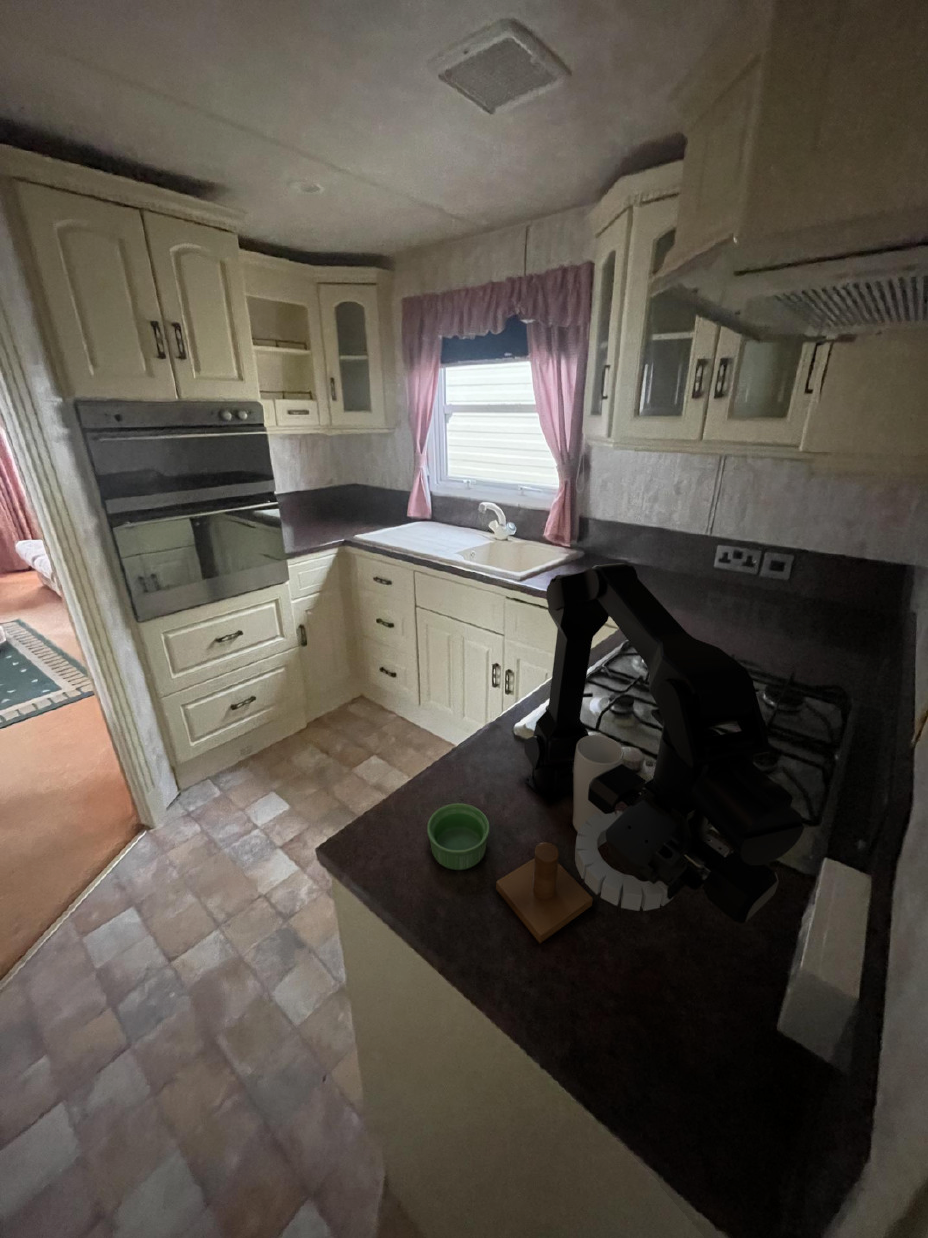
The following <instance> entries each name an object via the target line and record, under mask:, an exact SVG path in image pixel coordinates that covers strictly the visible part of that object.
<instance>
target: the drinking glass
mask: <svg viewBox="0 0 928 1238" xmlns="http://www.w3.org/2000/svg"><path fill="white" fill-rule="evenodd" d="M624 756H625V752H624V749H623V747H622V746H621V744H620V743H619V742H618V741H616V740H614V739H613V738H610V737H608V736H605V735H599V734H589V736H586V737H583V738H581V739H580V740H579V741H578V742H577V745H576V750H575V757H574V762H573V770H572V773H573V792H572V794H573V807H572V808H573V811H572V812H573V814H572V825H573V828H574V830H575V831H576V832H577V833H578V831H579V829H580V828H581V826H582V824H583V823H586V820H587V819H589V818H590V817H592V816H594V815H595V814H597V815H599V813H601V812H602V811H601V810H599V809H598V808H597V807H596V806H595V805H593V804H592V803H591V802H590V801H589V800H588V790H589V784H590V782H591V781H592V780H593V778H595V777H597V776H598V775H600V774H602V773H604V772H605V771H607V770H609V769H611V768H612V767H614V766H616V765H619V764H623V765H624Z"/></svg>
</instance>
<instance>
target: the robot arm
mask: <svg viewBox="0 0 928 1238" xmlns="http://www.w3.org/2000/svg"><path fill="white" fill-rule="evenodd" d="M545 592H546V594H545V595H546V603H547V613H548V614H549V615H550V617H551V619H552V621H553V623H554V624H555V627H556V628H557V630H556V640H555V647H554V657H553V665H552V673H551V681H550V691H549V698H548V699H549V700H548V705H547V709H546V710H545V711H544V712H543V714H542V715H541V716H540V717H539V718H538V719H537V720H536V722H535V726H534V730H533V735H532V736H530V737H528V738H526V739H524V740H523V748H524V754H525V756H526V757H527V759H528V762H529V763H530V765H531V767H532V769H531V770H532V771H531V772H532V773H531V775H530V776H528V777H526V778H525V779H524V784H526V785H527V787H529V788H530V789H531V790H532V791H533V792H534V793H536V794H537V795H538V796H539V797H540V798H541V799H542V800H543V801H545V803H547V804H548V805H552V804H554V803H556V802H557V801H559V800H561V799H563V798H565V797H566V796H568V795H570V794H573V769H574V757H575V750H576V745H577V742H578V741H579V740H580V739H581V738H583V737H586V736H590V733H589V732H588V730H587V728H586V726H585V725H584V723H583V721H582V720H581V713H582V708H583V702H584V696H585V690H586V683H587V676H588V670H589V664H590V657H591V652H592V645H593V641H594V637H595V636H596V635H597V633H598V632H599V631H600V630H601V629H602V628H603V627H604V626H605V625H606V623H608V621H609V618H611V620H612V621H613V622H614V624H615V625H616V626H617V628H618V629H619V630H620V632H621V633H622V635H623V636H624V637H625V639H626V640H627V641H628V642H629V644H630V645H631V646H632V647H633V649H634V651H635V652H636V653H637V654H638V656H639V657H640V658H641V660H642V661H643V662H644V664H645V666H646V668H647V669H648V671H649V678H648V691H649V693H650V695H651V697H652V699H653V700H654V702H655V704H656V706H657V708H652V709H651V710H650V715H651V716H652V717H653V719H654V720H656V721H657V723H658V724H659V725H661V727H662V730H661V736H660V741H659V746H658V751H657V757H656V761H655V766H654V769H653V770H654V771H653V776H652V778H651V779H649V780H646V779H645V778H644V777H641V776H640V775H639V774H637V773H636V772H635V771H633V770H632V769H630V768H629V767H628V766H626V765H625V764H624V763H623V764H619V765H616V766H614V767H612V768H611V769H609V770H607V771H605V772H604V773H602V774H600V775H598V776H597V777H595V778H593V780H592V781H591V782H590V784H589V790H588V800H589V801H590V802H591V803H592V804H593V805H595V806H596V807H597V808H598V809H599V810H601V811H602V812H603V813H604V814H610V813H613V812H616V808H617V805H618V804H619V803H621V802H622V803H624V804H625V805H626V807H624V808H622V810H621V811H622V813H623V814H622V815H621V816H620V817H619V818H618V819H617V820H616V821H615V822H613V823H612V824H611V825H610V826H609V827H608V829H607V830H606V839H607V842H606V843H607V848H608V851H609V854H610V856H611V857H612V858H613V860H615V861H617V862H618V863H619V864H620V865H621V866H623V867H624V868H625V869H626V870H627V871H628V872H629V873H630V874H631V876H634V877H635V878H636V879H638V880H640V881H643V882H646V881H651V883H653V884H655V883H656V882H657V881H661V882H663V883H664V884H665V885H666V886H668V889H667V898H668V899H669V900H670V899H672V898H673V897H674V898H675V896H677V895H678V893H679V892H680V891H682V890H683V888H684V887H686V886H687V887H688V888H689V889H691V890H693V891H698V890H700V889H702V890H703V892H704V894H705V895H706V898H707V900H708V901H709V902H710V903H712V904H713V905H714V906H715V907H716V908H718V909H719V910H720V911H721V912H722V913H724V914H725V915H726V916H727V917H729V918H730V919H731V920H732V921H733V922H734V923H741V924H746V923H747V922H748V921H749V920H750V919H751V918H752V917H753V916H754V915H755V914H756V913H757V912H758V911H759V910H760V909H761V908H762V907H763V906H764V905H765V904H766V903H767V902H768V901H769V900H770V899H771V898H772V897H773V896H774V895H775V893H776V891H777V888H778V886H779V883H780V881H779V877H778V874H777V872H776V871H774V870H773V869H772V868H770V867H769V866H768V865H767V864H769V863H772V862H774V861H777V860H778V859H780V858H782V857H783V856H784V855H786V854H787V853H788V852H790V850H791V849H792V848H793V847H794V846H795V845H796V844H797V843H798V841H799V840H800V839H801V837H802V835H803V833H804V829H805V825H803V817H802V815H801V813H800V812H799V811H798V810H797V809H796V808H795V807H793V806H792V803H793V801H794V798H793V795H792V794H791V793H790V791H788V790H786V788H785V787H783V786H782V785H781V784H780V783H777V781H774V780H773V779H772V778H771V777H769V776H768V775H767V774H766V773H765V772H764V771H763V770H762V769H760V768H759V767H758V766H757V765H756V764H755V763H754V759H755V756H760V755H764V754H769V753H770V752H771V745H770V742H769V738H768V735H767V732H768V731H769V729H768V727H767V724H766V721H765V718H764V716H763V715H762V710H761V706H760V703H759V699H758V696H757V692H756V687H755V684H754V680H753V678H752V676H751V674H750V673H749V672H748V670H747V669H746V667H745V666H744V665H743V664H741V663H739V662H738V661H737V660H736V659H734V658H733V657H732V656H730V654H728V653H726V652H725V651H724V650H723V649H721V647H718V646H716V645H713V644H711V643H708V642H705V641H702V640H700V639H697V638H695V637H694V636H693V635H691V634H690V633H689V632H688V631H686V629H684V628H683V626H682V625H681V624H680V623H679V622H678V621H677V620H676V618H674V616H673V615H672V614H671V613H670V612H669V611H668V610H667V609H666V607H664V605H663V604H662V603H661V602H660V600H658V599H657V598H656V596H655V595H654V594H653V593H652V592H651V591H650V590H649V589H648V588H647V587H646V586H645V584H644V583H643V582H642V581H641V580H640V578H638V573H637V570H636V568H635V567H634V566H633V565H632V564H627V563H625V562H620V563H608V564H598V565H596V564H595V565H594V566H593V567H590V568H587V569H586V570H584V571H580V572H574V573H564V574H556V575H555V576H554V577H552V578H551V579H550V581H549V584H548V585H547V587H546V591H545ZM731 724H737V725H738V726H739V729H740V730H737V731H733V732H727V733H720V732H719V731H717V729H715V728H716V727H720V726H726V725H731ZM714 727H715V728H714ZM712 828H714V829H715V830H716V831H717V833H718V834H719V835H720V836H721V837H722V838H723V840H724V841H725V842H726V843H727V844H728V845H729V847H730V848H731V849H732V850H733V851H732V852H730V848H729V847H728V846H726V845H725V844H724V843H722V842H721V841H720V840H718V839H716V837H714V836H713V835H710V834H706V832H708V831H709V830H711V829H712ZM674 898H673V899H674ZM673 899H672V900H673ZM670 901H671V900H670Z"/></svg>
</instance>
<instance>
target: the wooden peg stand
mask: <svg viewBox="0 0 928 1238" xmlns="http://www.w3.org/2000/svg"><path fill="white" fill-rule="evenodd" d="M559 857H560V852H559V849H558V847H557V846H556V845H555V844H553V843H551V842H546V841H545V842H540V843H538V845H536V846H535V848H534V858H532V859H531V860H529V861H528V862H525V863H524V864H523V865H521V866H519V867H518V868H516V869H514V870H512V871H511V872H509V873H508V874H506V875H505V876H503V877H501V878H500V879H498V880H497V881H496V882H495V890H496V891H497V893H499V895H500V896H501V898H502V899H504V901H505V902H506V903H507V905H508V906H509V907H510V908H511V909H512V911H513V912H514V913H515V915H516V916H517V917H518V919H520V921H521V922H522V923H523V924H524V926H525V928H527V929H528V931H529V932H530V933H531V934H532V936H533V937H534V938H535V939H536V941H537V942H538V943H539V944H542V943H543V942H544V941H545V940H547V939H548V938H549V937H551V936H552V935H554V934H555V933H556V932H558V931H559V930H561V929H562V928H563V927H565V926H566V925H568V924H569V923H571V922H572V921H573V920H574V919H576V918H577V917H579V916H580V915H581V914H582V913H584V912H585V911H586V910H588V909H589V908H590V907H592V906H593V901H594V900H593V896H591V895H590V894H589V893H588V892H587V891H586V889H584V887H583V886H581V884H579V883H578V882H577V880H576V879H575V878H574V877H573V876H571V873H569V872H567V870H566V869H565V868H564V867H563V866H562V865H561V864H560V863H559Z"/></svg>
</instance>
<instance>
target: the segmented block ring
mask: <svg viewBox="0 0 928 1238" xmlns="http://www.w3.org/2000/svg"><path fill="white" fill-rule="evenodd" d="M622 814H623V813H622V810H616V811H614V812H613V813H610V814H604V813H603V812H601V813H599V815H597V814H595V815H594V816H592V817H590V818H589V819H587V820H586V823H583V824H582V826H581V828H580V829H579V831H578V832H577V834H576V840H575V847H574V862H575V866H576V867H575V868H576V869H577V871H578V874H579V875H580V877H581V880H584V884H586V885H587V886H588V888H589V889H590V890H591V891H592V892H593V893H594V894H595V895H599V894H600V898H601V899H603V900H604V901H606V902H608V903H610V904H611V905H614V906H616V907H617V906H618V905H619V904H620V908H621V909H625V910H630V911H636V912H637V911H638V912H640V910H641V909H642V910H643V912H645V911H646V912H647V911H651V910H656V909H660V908H661V907H660V906H662V907H664V906H666V905H667V904H668V903H669V902H671V901H672V900H673V899H674V898H675V896H674V897H673V898H672V899H670V900H669V899H668V898H667V889H668V886H666V885H665V884H664V883H663V882H661V881H657V882H656V883H655V884H653V883H651V881H646V882H643V881H640V880H638V879H636V878H635V877H634V876H633V875H632V874H631V875H630V874H624V873H622V872H621V871H618V870H616V869H614V868H613V867H611V866H610V865H609V863H607V862H606V861H605V860H604V859H603V857H602V855H601V853H600V852H599V848H600V846H602V845H604V844H605V843H607V839H606V830H607V829H608V827H609V826H610V825H611V824H612V823H613V822H615V821H616V820H617V819H618V818H619V817H620V816H621V815H622ZM619 902H620V903H619Z"/></svg>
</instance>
